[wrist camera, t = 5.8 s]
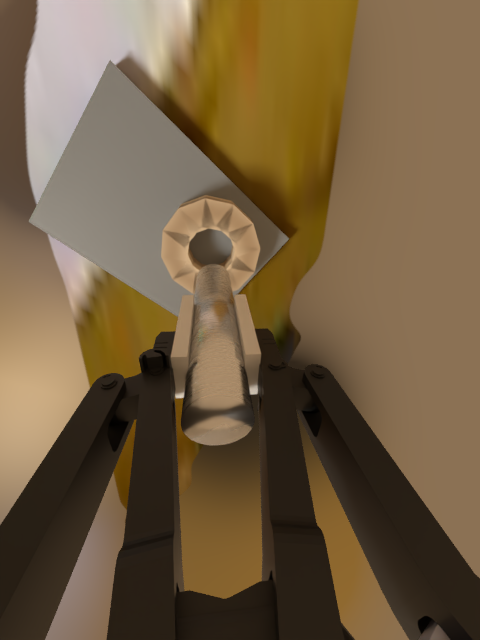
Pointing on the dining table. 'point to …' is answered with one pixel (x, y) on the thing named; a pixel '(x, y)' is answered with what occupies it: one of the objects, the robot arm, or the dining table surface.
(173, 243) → the tan faceted ring
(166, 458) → the robot arm
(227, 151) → the dining table surface
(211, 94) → the dining table surface
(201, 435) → the peg
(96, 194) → the board
